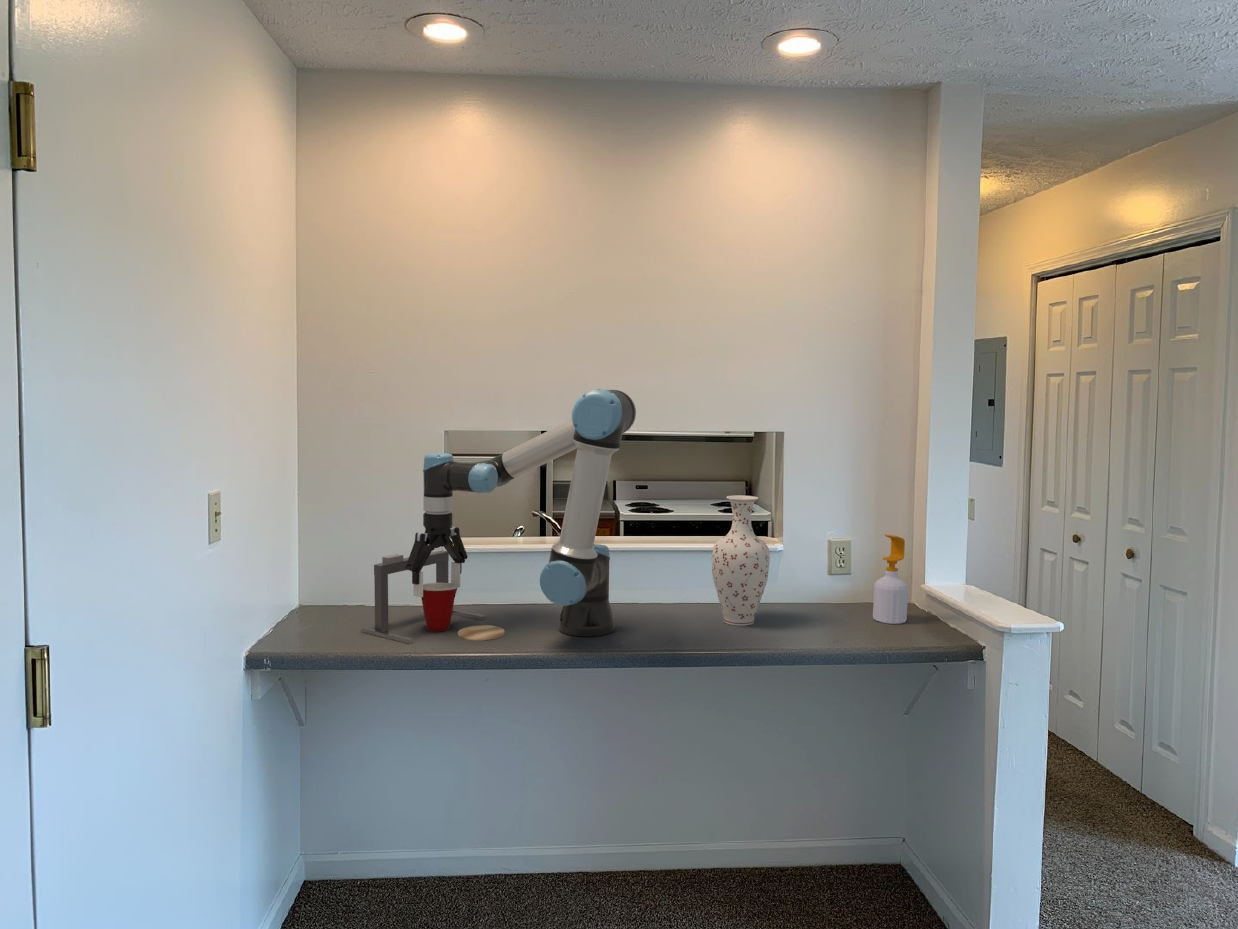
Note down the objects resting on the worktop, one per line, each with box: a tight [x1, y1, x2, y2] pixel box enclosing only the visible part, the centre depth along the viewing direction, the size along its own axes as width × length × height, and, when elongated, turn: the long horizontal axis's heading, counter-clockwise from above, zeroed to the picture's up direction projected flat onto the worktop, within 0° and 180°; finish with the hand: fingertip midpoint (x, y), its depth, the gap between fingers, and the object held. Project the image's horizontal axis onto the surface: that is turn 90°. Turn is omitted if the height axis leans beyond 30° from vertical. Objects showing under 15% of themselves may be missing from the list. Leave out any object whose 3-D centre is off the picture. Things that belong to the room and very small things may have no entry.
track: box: [360, 608, 486, 645], centre depth 231 cm, size 18×28×1 cm, turn 147°
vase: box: [711, 494, 771, 627], centre depth 238 cm, size 16×16×35 cm
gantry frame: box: [373, 550, 450, 632], centre depth 232 cm, size 3×24×19 cm, turn 147°
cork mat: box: [457, 624, 505, 642], centre depth 224 cm, size 12×12×1 cm
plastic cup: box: [420, 582, 460, 633], centre depth 228 cm, size 11×11×12 cm
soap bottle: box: [872, 533, 909, 625], centre depth 242 cm, size 9×9×25 cm
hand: (437, 591), depth 227 cm, fingers open, 13 cm apart
